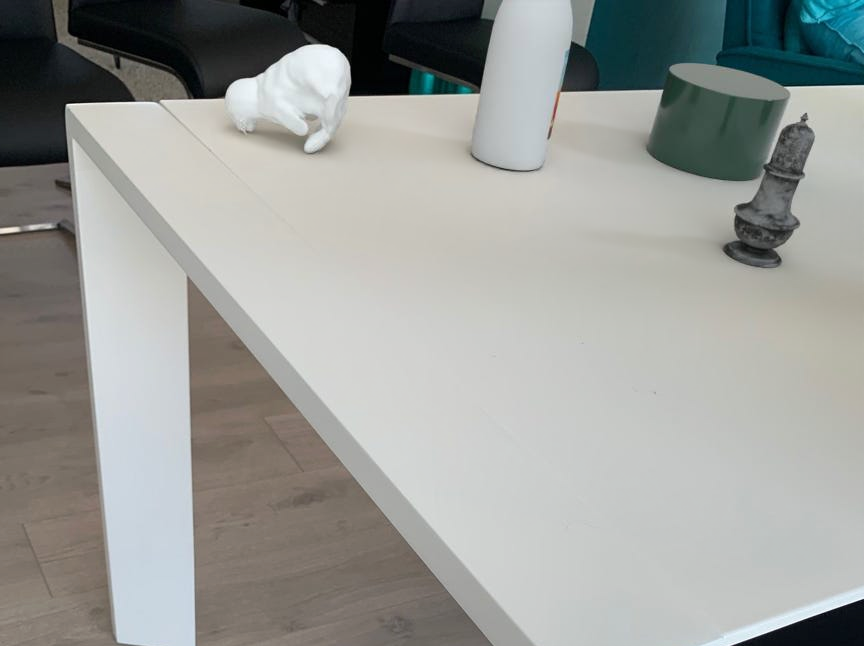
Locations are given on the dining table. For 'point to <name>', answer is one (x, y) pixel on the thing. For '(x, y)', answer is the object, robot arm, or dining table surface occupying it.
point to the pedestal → (717, 121)
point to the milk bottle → (522, 83)
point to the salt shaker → (772, 201)
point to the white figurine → (295, 94)
